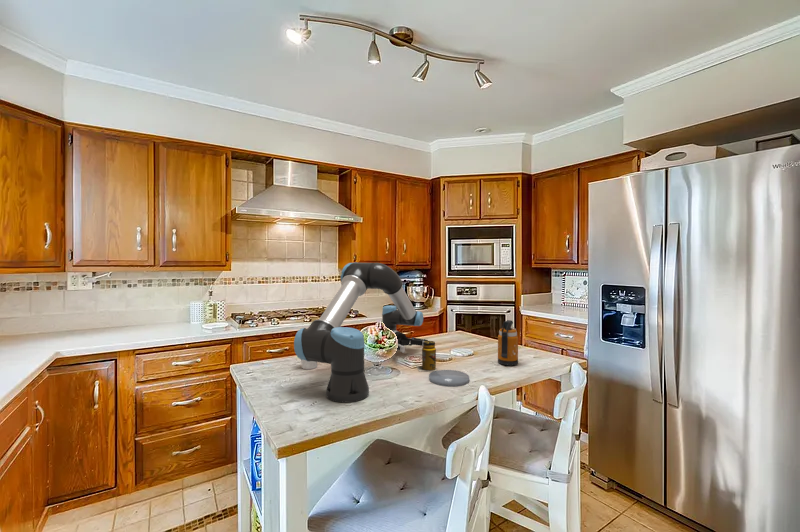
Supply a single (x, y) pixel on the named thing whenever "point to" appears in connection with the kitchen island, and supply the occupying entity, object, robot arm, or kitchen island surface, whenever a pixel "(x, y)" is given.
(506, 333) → the canister
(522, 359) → the kitchen island surface
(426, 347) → the condiment
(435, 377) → the trivet
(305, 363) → the white cup
